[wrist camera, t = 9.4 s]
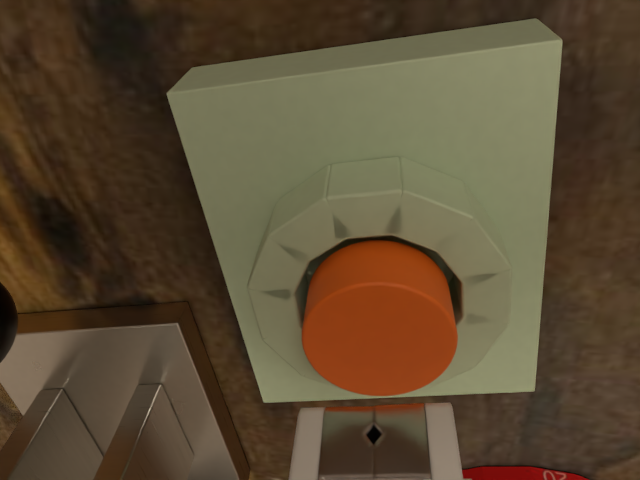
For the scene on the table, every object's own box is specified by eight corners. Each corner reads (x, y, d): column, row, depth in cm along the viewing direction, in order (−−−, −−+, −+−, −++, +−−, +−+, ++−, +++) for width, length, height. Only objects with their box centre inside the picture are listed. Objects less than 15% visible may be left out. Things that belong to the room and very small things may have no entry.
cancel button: (297, 244, 13) (287, 289, 12) (446, 232, 13) (456, 277, 11) (320, 351, 15) (314, 400, 14) (451, 343, 15) (459, 394, 13)
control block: (191, 67, 15) (138, 121, 11) (537, 17, 13) (591, 62, 10) (273, 357, 21) (253, 448, 17) (519, 343, 19) (550, 440, 16)
